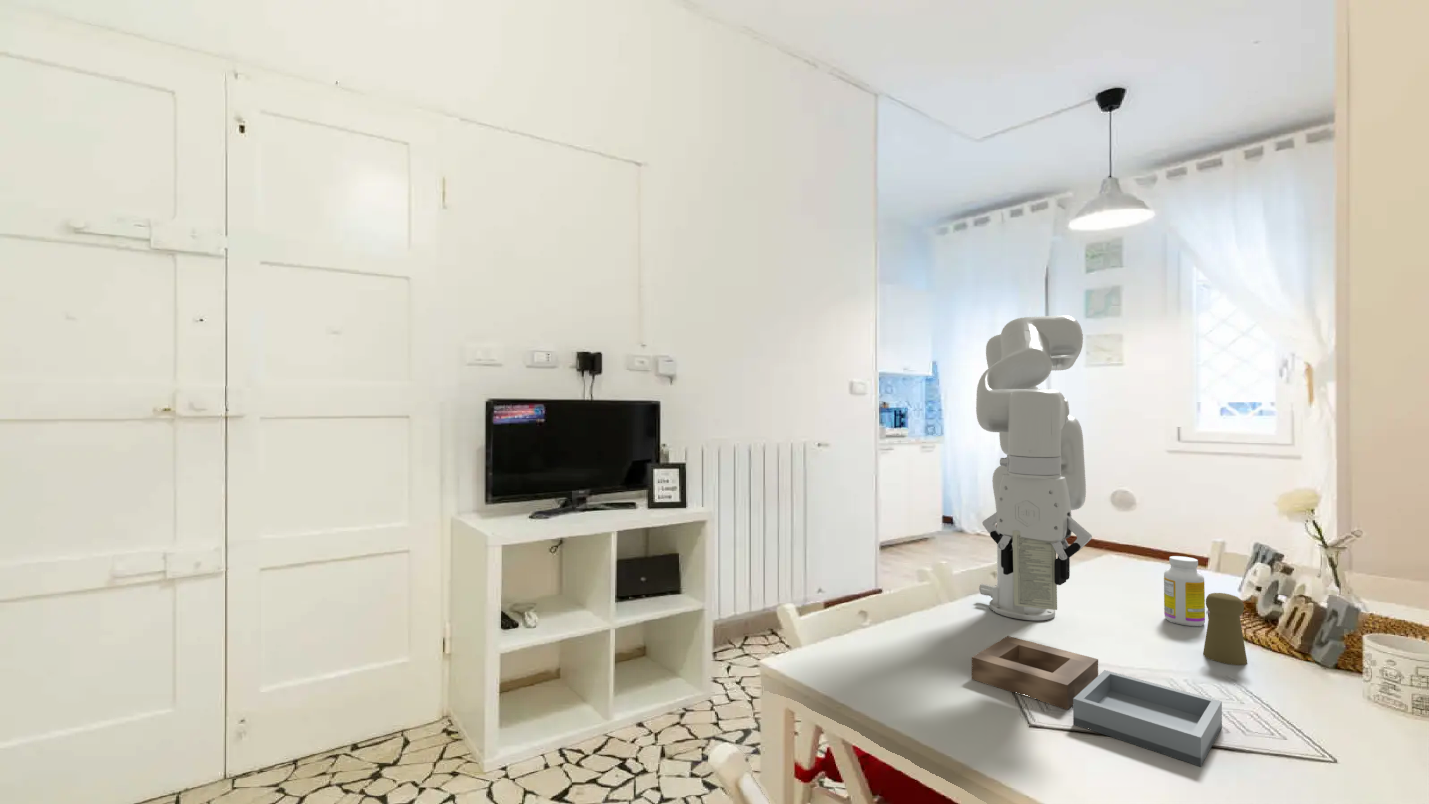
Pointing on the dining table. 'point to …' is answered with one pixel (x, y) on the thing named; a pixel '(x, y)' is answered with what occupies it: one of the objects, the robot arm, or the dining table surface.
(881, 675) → the dining table surface
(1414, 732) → the dining table surface
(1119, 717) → the tray
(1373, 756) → the dining table surface
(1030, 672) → the frame
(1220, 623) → the cork
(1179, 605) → the supplement bottle
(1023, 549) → the skincare box
